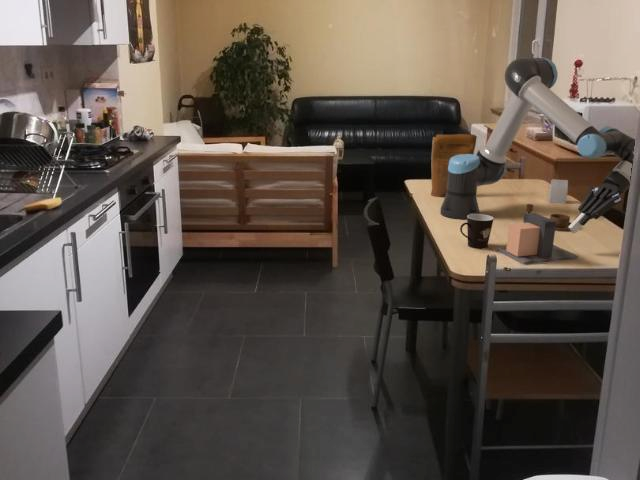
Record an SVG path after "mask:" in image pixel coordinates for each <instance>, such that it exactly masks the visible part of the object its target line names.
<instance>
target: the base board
mask: <svg viewBox="0 0 640 480" xmlns="http://www.w3.org/2000/svg"><path fill="white" fill-rule="evenodd" d="M506 248H507V246H505V247H498V248H497V252H499V253H500V254H503V255H505V256H507V257H508V258H510V259H512V260H514V261H515V262H518V263H519V264H521V265H534V264H542V263H552V262H553V263H554V262H561V261H570V260H579V255H577V254H575V253H573V252H571V251H568V250H566V249H564V248H561V247H559V246H557V245H555V244H553V250H552V257H544V258H540V257H538V256H537V255H528V256H519V257H517V256H515V255H513V254H511V253H509V252H507V251H506Z"/></svg>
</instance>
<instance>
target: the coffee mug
mask: <svg viewBox="0 0 640 480" xmlns="http://www.w3.org/2000/svg"><path fill="white" fill-rule="evenodd" d="M494 220H495V219H494V217H493V216H491V215H488V214H482V213H479V214H470V215H468V216H467V219H466V222H464V223H462V224H461V225H460V227H459V232H460V234H462V236H463V237H464V238H467V246H468V247H469V248H472V249H477V250H483V249H482V248H484V249H487V248H488V245H489V241H490V236H491V232H492V228H493V223H494ZM465 225H467V228H466V229H467V235H466V234H465V233H464V232H463V227H464V226H465Z"/></svg>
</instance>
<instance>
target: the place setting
mask: <svg viewBox="0 0 640 480" xmlns="http://www.w3.org/2000/svg"><path fill="white" fill-rule="evenodd" d="M533 208H534V204H532V203H527V204H526V210H525V211H526V212H527V214H529V213H532V211H533V210H534V209H533ZM549 219H551V220H554V221H556V228H555V232H556V231H557V232H571V230H570V229H569V228H568V227H569V226H570V224H571V223H572V222H570V220H571V217H570V216H569V215H567V214H564V213H551V214H550V216H549ZM567 226H568V227H567ZM566 227H567V228H566ZM579 230H582V227H581V228H580V229H579Z"/></svg>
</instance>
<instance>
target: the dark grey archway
mask: <svg viewBox="0 0 640 480" xmlns="http://www.w3.org/2000/svg"><path fill="white" fill-rule="evenodd" d="M523 215H524V217H523V223H528V222H530V223H533V224H535V225H538V226H540V227H541V229H540V236H539V244H538V252H537V256H538V257H540V258H544V257H552V250H553V245H554V241H555V240H554V239H555V233H556V231H555V228H556V221H554V220H551V219H550V217H547V216H543V215H542V214H541V215H540V214H539V213H536V212H533V213H532V212H530V213H529V214H528V213H524V214H523Z"/></svg>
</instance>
